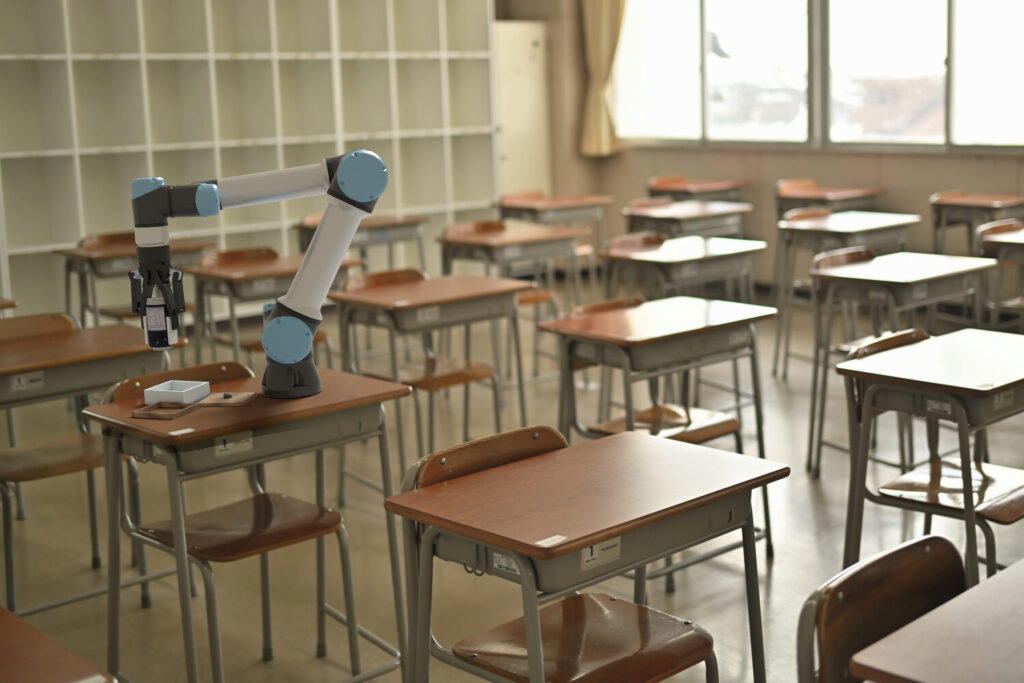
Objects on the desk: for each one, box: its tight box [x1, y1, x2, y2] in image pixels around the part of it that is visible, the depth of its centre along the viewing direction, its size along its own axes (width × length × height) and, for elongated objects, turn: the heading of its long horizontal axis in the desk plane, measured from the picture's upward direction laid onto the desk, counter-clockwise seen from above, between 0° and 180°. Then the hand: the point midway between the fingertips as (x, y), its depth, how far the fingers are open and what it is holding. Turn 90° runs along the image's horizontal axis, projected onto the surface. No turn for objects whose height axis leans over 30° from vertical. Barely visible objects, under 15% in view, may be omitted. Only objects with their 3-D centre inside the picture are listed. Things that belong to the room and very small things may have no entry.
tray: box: [143, 379, 211, 406], centre depth 293 cm, size 11×11×4 cm
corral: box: [131, 401, 201, 420], centre depth 281 cm, size 11×11×1 cm
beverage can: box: [146, 296, 175, 351], centre depth 277 cm, size 6×6×12 cm
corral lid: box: [198, 391, 257, 407], centre depth 291 cm, size 11×11×2 cm
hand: (161, 343), depth 278 cm, fingers closed on beverage can, 6 cm apart
